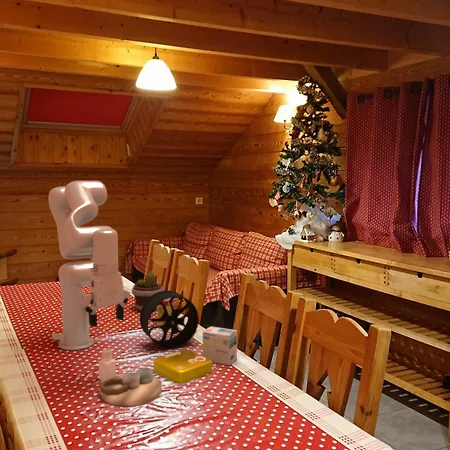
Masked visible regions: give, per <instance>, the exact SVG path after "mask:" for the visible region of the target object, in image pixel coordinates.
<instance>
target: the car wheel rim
mask: <svg viewBox="0 0 450 450" xmlns="http://www.w3.org/2000/svg"><path fill="white" fill-rule="evenodd" d="M168 298H171V299H170V300H169V303H170V307H171V310H172V313H171V316H169V315H168V312H167V309H166V306H165V304H164V303H161V302H162V301H163V300H166V299H168ZM174 298H176V299H182V300H184V302H185V303H186V304H185V305H184V306H182V307H181V308H180V309H177V308H176V309H174V308H173V306H172V300H173V299H174ZM159 304H162V307H163V309H164V314H163V315H162V317H161V318H157V317H156V318H152V314H153V313H154V312H155V311H154V310H155V308H156V307H157V306H158V305H159ZM187 309H188V311H187V312H186V313H184V312H185V311H186V310H187ZM183 313H184V315H182V316H181V317H179V316H180V315H181V314H183ZM186 318H187V320H186ZM185 320H186V323H185ZM150 321H151V322H152V323H157V322H160V321H165V322H166V324H164V325H160V326H157V325H155V326H151V327H150V328H149V322H150ZM199 322H200V321H199V313H198V310H197V307H196V306H195V304H194V303H193V302H192V301H191V300H189V299H188V298H186V297H184V296H183V295H182V294H180V293H179V292H176V291H174V290H173V291H172V290H163V291H160V292H157V293H155V294H154V295H152V296H151V297H150V298H148V299H147V301H146V302H145V303H144V305H143V307H142V309H141V311H140V313H139V323H140V328H141V329H142V331H143V333H144V334H145V335H146V336H147V337H148V338H149V339H150V341H151V342H152V343H153V344H155V346H157V347H158V348H160V349H164V350H176V349H179V348H182V347H184V346H185V345H187V344H188V343H189V342H190V341H191V340H192V338H193V337H194V336H195V334H196V332H197V330H198V327H199ZM178 326H183V328H182V329H179V327H178ZM157 329H160V330H161V331H162V332H163V335H162V337H161V340H159V339H156V338H154V337H152V335H151V332H152V331H153V330H157ZM169 331H170V334H169V339H167V336H168V333H169ZM174 335H175V336H174Z"/></svg>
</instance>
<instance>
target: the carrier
mask: <svg viewBox="0 0 450 450" xmlns="http://www.w3.org/2000/svg"><path fill="white" fill-rule="evenodd" d="M162 383H163V382H162V381H161V380H160V378H158V377H156V376H154V369H152V368H150V367H142V368H141V367H140V368H138V369H136V372H127V373H123V374H118V375H116V376H115V377H112V378H110V379H108V380H106V381H102V382H101V383H100V386H99V392H100V398H101V399H102V400H103V401H104V402H106V403H107V404H110V405H114V406H117V407H133V406H140V405H141V406H142V405H145V404H148V403H151V402H152V401H154V400H157V399H158V398H159V397H160V395H161V394H162V391H163V389H162V387H163V386H162Z"/></svg>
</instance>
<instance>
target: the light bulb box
mask: <svg viewBox="0 0 450 450" xmlns="http://www.w3.org/2000/svg"><path fill="white" fill-rule="evenodd" d="M202 356H205V357H207V358H210V359H211V360H212V363H214V364H215V363H216V364H220V365H225V366H230V365H231V364H233V363H235V361H237V359H238V330H237V329H232V328H231V329H230V328H223V327H218V326H217V327H216V326H209V327H207V328H206V329H204V330H202Z"/></svg>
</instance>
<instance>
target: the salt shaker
mask: <svg viewBox="0 0 450 450" xmlns="http://www.w3.org/2000/svg"><path fill="white" fill-rule="evenodd" d="M116 365H117V363H116V359H113V349H111V348H104V349H102V350H101V360H99V361H98V379H99V380H100V381H102V382H103V381H106V380H108V379H110V378H112V377H115V376H117V374H116V372H117V371H116V369H117V368H116Z"/></svg>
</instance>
